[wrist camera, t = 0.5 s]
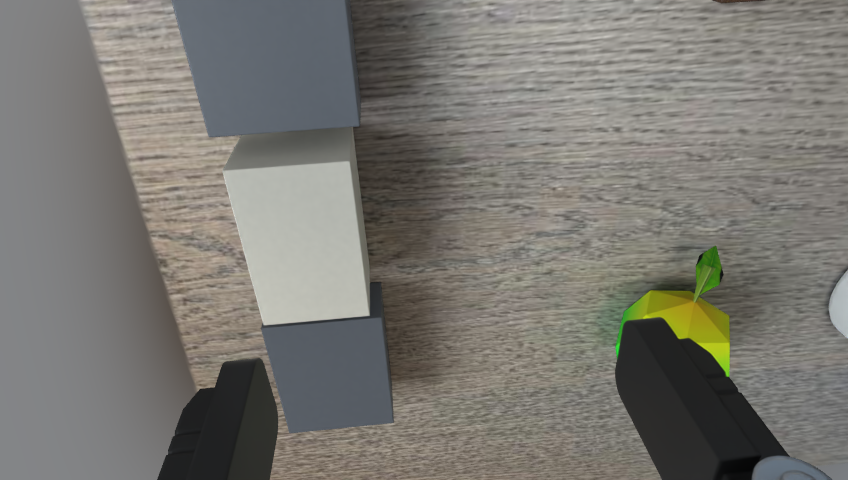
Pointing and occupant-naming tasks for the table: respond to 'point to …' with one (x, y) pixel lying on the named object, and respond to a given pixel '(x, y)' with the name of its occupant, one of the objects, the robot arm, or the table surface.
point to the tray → (731, 0)
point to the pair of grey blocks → (282, 112)
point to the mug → (840, 305)
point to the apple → (690, 311)
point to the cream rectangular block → (301, 223)
